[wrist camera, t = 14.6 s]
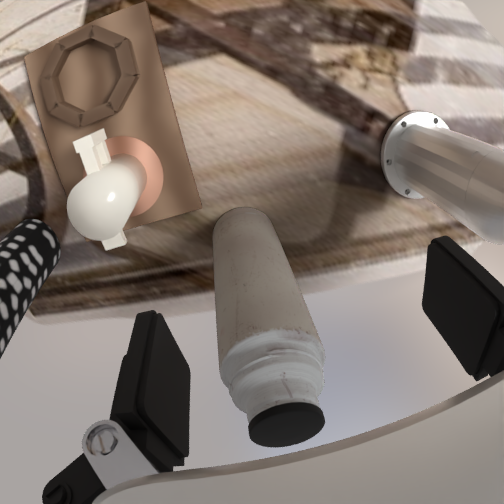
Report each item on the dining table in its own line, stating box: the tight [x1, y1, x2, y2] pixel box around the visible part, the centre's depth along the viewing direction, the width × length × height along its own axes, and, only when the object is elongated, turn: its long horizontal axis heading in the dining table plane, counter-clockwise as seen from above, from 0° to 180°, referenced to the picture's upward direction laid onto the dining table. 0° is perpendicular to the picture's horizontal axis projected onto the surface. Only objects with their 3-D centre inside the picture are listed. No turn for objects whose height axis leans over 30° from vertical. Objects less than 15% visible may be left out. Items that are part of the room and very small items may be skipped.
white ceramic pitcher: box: [67, 128, 147, 250], centre depth 30 cm, size 11×6×10 cm, turn 12°
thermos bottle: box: [213, 207, 325, 447], centre depth 30 cm, size 8×8×28 cm
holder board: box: [24, 2, 202, 242], centre depth 32 cm, size 16×26×3 cm, turn 11°
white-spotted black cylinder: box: [0, 219, 60, 358], centre depth 30 cm, size 8×8×20 cm
